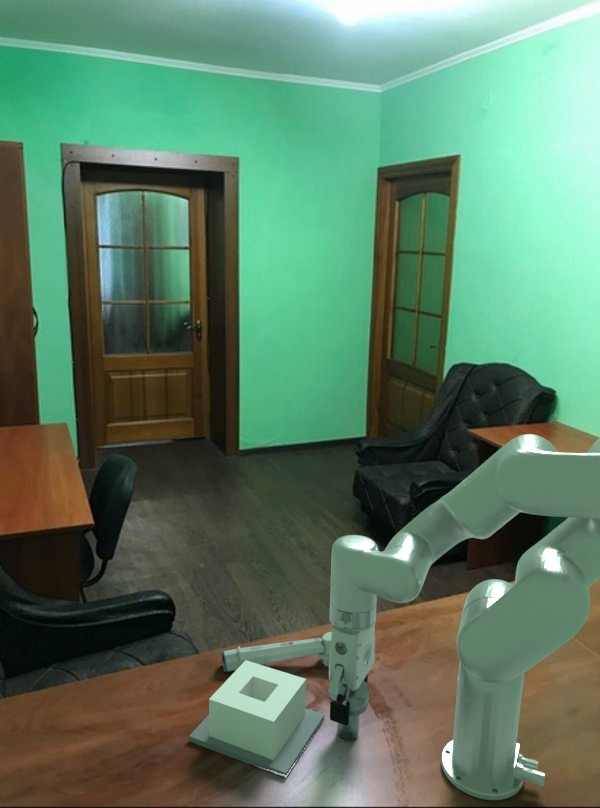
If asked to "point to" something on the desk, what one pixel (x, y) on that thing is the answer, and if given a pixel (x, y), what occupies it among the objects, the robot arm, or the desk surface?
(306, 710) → the hitch block
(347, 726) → the steel pin
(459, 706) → the robot arm
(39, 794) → the desk surface
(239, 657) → the white flashlight
